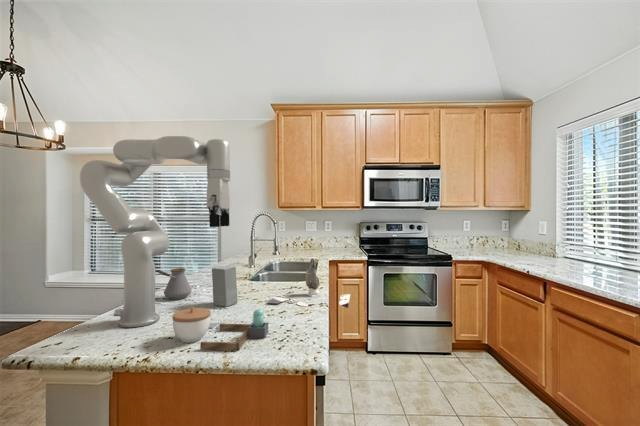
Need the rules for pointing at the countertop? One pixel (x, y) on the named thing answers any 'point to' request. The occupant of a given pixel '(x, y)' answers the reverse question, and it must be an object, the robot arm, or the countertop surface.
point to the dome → (258, 318)
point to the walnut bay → (228, 345)
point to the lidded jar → (191, 324)
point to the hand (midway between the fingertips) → (220, 226)
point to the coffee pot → (176, 285)
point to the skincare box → (224, 286)
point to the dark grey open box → (257, 331)
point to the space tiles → (214, 325)
